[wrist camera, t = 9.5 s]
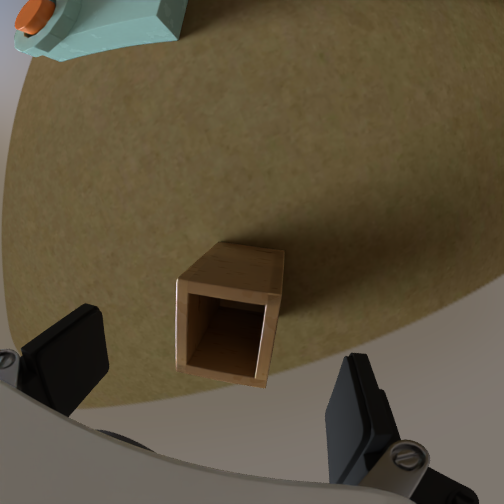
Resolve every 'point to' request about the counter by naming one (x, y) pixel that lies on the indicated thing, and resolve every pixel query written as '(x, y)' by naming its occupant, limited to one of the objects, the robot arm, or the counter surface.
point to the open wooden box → (229, 313)
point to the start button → (34, 16)
